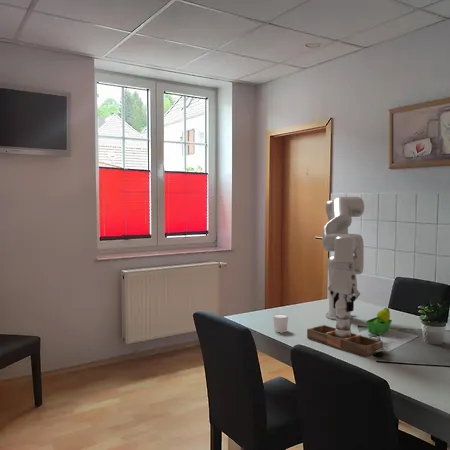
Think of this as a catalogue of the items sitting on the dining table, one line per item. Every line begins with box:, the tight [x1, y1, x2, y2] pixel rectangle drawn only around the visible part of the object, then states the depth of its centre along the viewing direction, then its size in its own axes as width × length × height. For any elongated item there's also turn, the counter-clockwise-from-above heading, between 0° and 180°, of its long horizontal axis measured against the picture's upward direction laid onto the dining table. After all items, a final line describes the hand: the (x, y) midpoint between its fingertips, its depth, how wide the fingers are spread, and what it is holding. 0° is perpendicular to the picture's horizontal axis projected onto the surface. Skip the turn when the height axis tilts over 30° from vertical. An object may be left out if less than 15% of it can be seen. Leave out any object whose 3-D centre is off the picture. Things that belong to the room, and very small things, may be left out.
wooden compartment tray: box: [306, 324, 384, 358], centre depth 190 cm, size 11×30×4 cm, turn 36°
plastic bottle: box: [335, 293, 352, 340], centre depth 189 cm, size 6×7×20 cm
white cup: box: [272, 313, 289, 334], centre depth 210 cm, size 7×7×7 cm
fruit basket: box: [365, 307, 393, 335], centre depth 208 cm, size 11×9×11 cm
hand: (343, 308), depth 189 cm, fingers closed on plastic bottle, 6 cm apart
